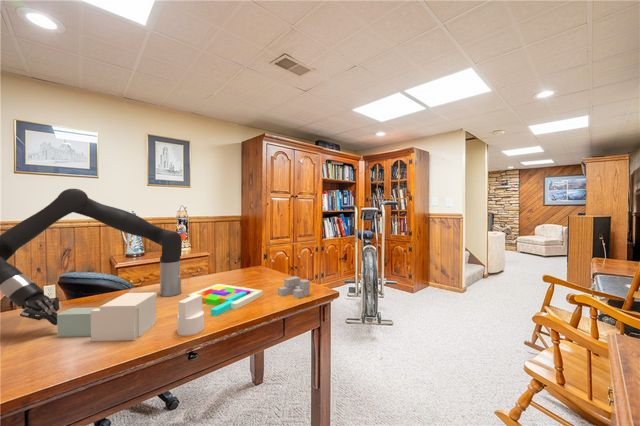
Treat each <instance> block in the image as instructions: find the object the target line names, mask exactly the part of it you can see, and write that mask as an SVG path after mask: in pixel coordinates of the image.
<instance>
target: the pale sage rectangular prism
mask: <svg viewBox="0 0 640 426" xmlns="http://www.w3.org/2000/svg"><path fill="white" fill-rule="evenodd" d="M94 309H100V306H99V307H71V308H69V309H67V310H64V311H61V312H60V313H57V325H56V326H57V328H56V331H57V334H56V335H57V338H66V337H67V338H69V337H70V338H71V337H73V338H74V337H75V338H76V337H91V311H92V310H94Z"/></svg>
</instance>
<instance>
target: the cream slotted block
mask: <svg viewBox="0 0 640 426" xmlns="http://www.w3.org/2000/svg"><path fill="white" fill-rule="evenodd" d="M157 297H158V292H126V293H124V294H122V295H120V296H118V297H115V298H113V299H111V300H110V301H108V302H106V303H104V304H102V305H100V306H99V307H100V309H94V310H92V311H91V336H90V342H115V341H117V342H118V341H120V342H121V341H135V340H136V339H138V338H140V337H142V336H143V335H144V334H145V333H146V332H147V331H149V330H150V329H151V328H152V327H153V326H155V323H157V308H156V307H157V306H156V305H157V303H156V301H157V300H156V299H157Z"/></svg>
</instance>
